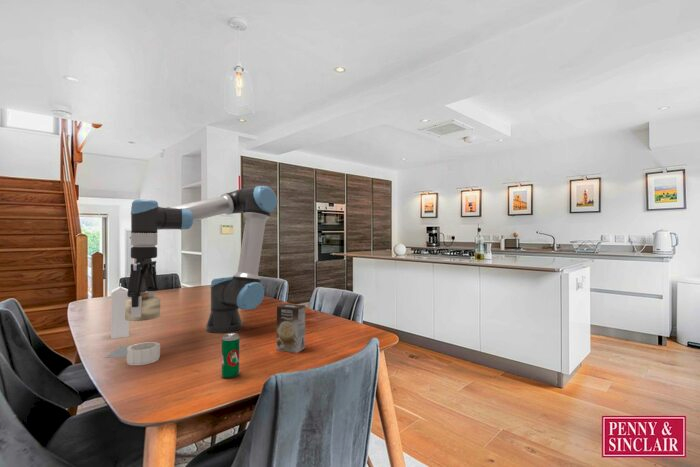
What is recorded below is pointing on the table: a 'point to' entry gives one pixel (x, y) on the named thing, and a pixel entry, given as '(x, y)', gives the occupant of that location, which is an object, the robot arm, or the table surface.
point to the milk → (119, 313)
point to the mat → (119, 352)
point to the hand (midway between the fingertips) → (143, 313)
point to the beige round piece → (144, 308)
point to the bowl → (143, 353)
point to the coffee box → (290, 327)
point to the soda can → (230, 355)
